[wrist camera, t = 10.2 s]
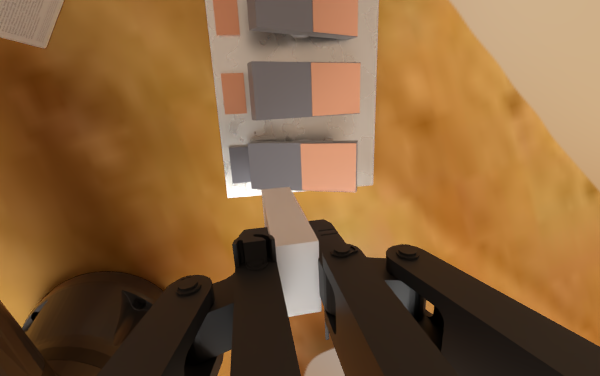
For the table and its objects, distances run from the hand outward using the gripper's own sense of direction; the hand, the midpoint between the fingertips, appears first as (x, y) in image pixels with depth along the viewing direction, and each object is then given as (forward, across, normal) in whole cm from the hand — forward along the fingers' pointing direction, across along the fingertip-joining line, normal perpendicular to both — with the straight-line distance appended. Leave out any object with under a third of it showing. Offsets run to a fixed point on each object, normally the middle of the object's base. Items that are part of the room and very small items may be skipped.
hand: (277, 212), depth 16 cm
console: (+17, +4, +6) cm, 18 cm away
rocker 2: (+10, +4, +6) cm, 12 cm away
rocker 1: (+10, +4, +12) cm, 16 cm away
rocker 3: (+10, +4, 0) cm, 11 cm away
